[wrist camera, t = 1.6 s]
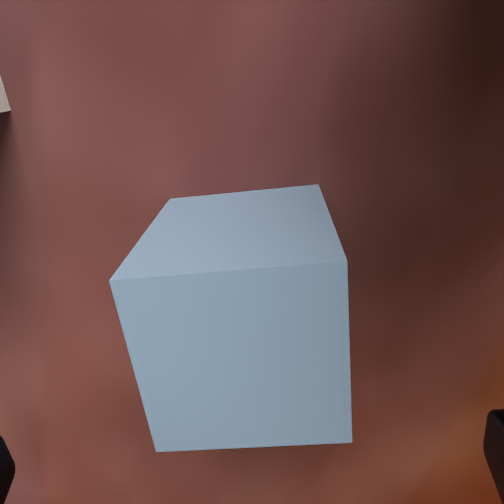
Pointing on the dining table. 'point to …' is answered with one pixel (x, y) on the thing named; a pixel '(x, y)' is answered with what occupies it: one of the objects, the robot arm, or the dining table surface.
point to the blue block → (240, 321)
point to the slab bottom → (3, 99)
